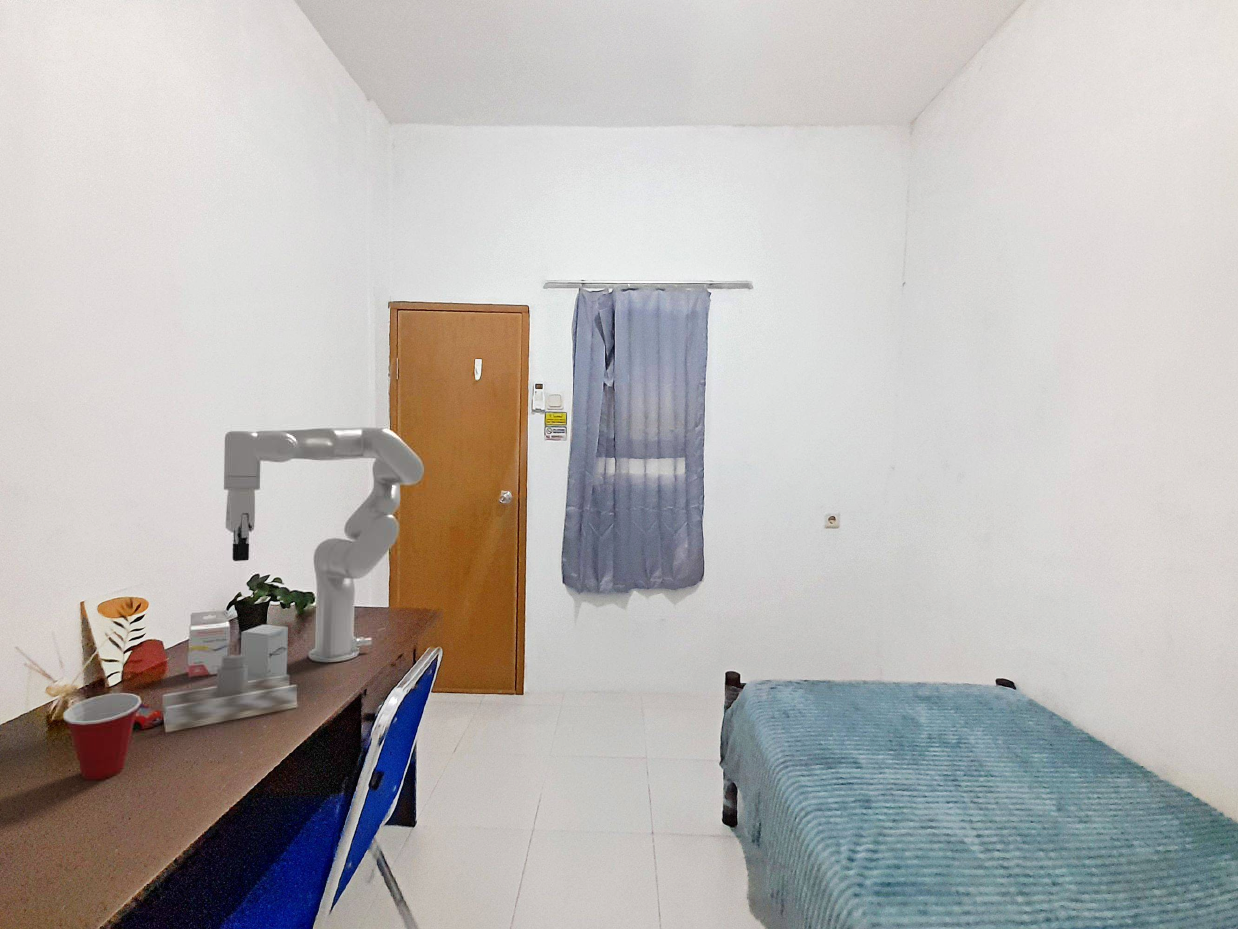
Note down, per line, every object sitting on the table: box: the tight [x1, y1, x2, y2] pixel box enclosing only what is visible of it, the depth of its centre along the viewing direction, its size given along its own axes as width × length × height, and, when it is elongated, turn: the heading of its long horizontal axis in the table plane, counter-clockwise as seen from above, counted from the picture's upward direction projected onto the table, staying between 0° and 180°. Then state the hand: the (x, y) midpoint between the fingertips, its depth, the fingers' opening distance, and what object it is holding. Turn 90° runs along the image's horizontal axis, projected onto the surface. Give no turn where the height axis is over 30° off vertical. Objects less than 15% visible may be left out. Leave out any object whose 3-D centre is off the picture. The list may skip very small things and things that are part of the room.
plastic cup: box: [62, 692, 142, 781], centre depth 118 cm, size 11×11×12 cm
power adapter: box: [216, 644, 248, 698], centre depth 146 cm, size 3×5×12 cm, turn 97°
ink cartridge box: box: [187, 609, 231, 678], centre depth 168 cm, size 9×5×15 cm, turn 123°
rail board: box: [161, 674, 298, 733], centre depth 146 cm, size 24×10×4 cm, turn 127°
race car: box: [133, 702, 164, 731], centre depth 138 cm, size 13×5×4 cm, turn 77°
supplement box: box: [240, 624, 289, 681], centre depth 164 cm, size 7×7×13 cm
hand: (240, 560), depth 162 cm, fingers closed
